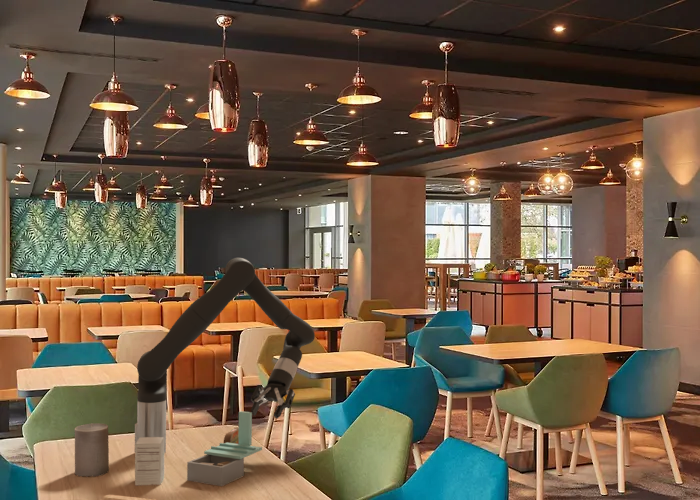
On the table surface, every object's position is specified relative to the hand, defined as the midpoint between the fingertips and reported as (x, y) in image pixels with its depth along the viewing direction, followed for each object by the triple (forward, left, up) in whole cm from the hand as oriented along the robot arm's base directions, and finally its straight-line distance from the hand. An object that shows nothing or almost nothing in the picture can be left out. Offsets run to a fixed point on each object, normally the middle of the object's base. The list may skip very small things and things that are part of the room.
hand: (264, 415), depth 247 cm
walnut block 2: (+3, -25, -13) cm, 28 cm away
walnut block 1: (-2, -29, -13) cm, 32 cm away
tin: (-11, -1, -14) cm, 18 cm away
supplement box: (-15, -38, -14) cm, 43 cm away
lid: (0, -17, -8) cm, 19 cm away
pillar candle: (-38, -37, -14) cm, 55 cm away
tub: (0, -27, -14) cm, 30 cm away
